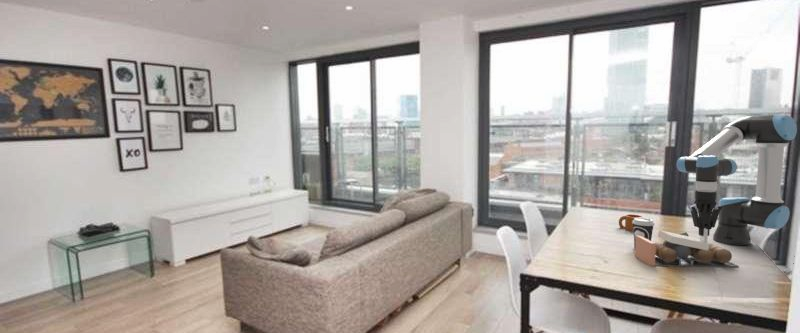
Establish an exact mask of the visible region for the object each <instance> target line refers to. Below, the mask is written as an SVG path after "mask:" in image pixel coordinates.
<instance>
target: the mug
mask: <svg viewBox="0 0 800 333" xmlns="http://www.w3.org/2000/svg"><path fill="white" fill-rule="evenodd" d="M634 218H644V217H643V215H640V214H635V213H634V214H632V213H631V214H630V213H629V214H625V215H622V216H621V217H620V218H619V219H618V225H619V226H618V227H620V229H623V230H624V229H625V230H627V231H629V232H634V230H633V223H632V221H633V220H634ZM623 221H625V222H624V225H623Z"/></svg>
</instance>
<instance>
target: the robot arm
mask: <svg viewBox="0 0 800 333" xmlns="http://www.w3.org/2000/svg"><path fill="white" fill-rule="evenodd" d="M797 133H798V128H797V123H796V120H794V118H793V117H792V116H791V115H787V114H771V115H769V114H768V115H766V114H765V115H764V114H763V115H748V116H743V117H741V118H738V119H736V120H734V121H732V122H730V123H728V124H727V125H726V126H724V127H723V128H722V129H721V130H720V133H718V134H717V135H716V136H715V137H713V138H712V139H710V140H709V141H708V142H707V143H705V144H704V145H703V146H702V147H700V148H698V149H697V150H696V151H695V152H694V153H692V154H691V155H689V156H681V157H679V158H678V159H677V161H676V168H677V170H678V171H679V172H681V173H686V174H695V191H694V199H695V201H694V204H692V205H689V206H688V209H689V211H690V213H691V214H690V215H691V218H692V222H693V226H694V227H696V228H698V236H699V240H701V241H704V242H706V243H708V237H710V230H712V228H715V227H716V228H715V230H714V233H713V234H712V240H714V241H715V242H718V243H722V244H726V245H733V246H734V245H735V246H749V245H751V243H752V238H751V235H750V233H749V230H748V226H755V227H759V228H765V229H769V230H770V229H772V230H780V229H782V228H783V227H784V226H785V225H786V224H787V222H789V218H790V214H791V212H790V208H789V207H788V206H786V205H784V204H785V201H784V200H783V199H782V198H781V189H782V188H781V187H782V176H783V163H784V153H785V147H786V146H788V145H789V144H790V141H791V140H794V139H795V137H796V136H797ZM744 140H745V141H747V140H755V144H756V145H757V146H758V147H759V148H758V159H757V160H758V161H757V173H756V185H755V195H754V196H753V197H752V198H751V199H750V198H749V197H745V196H735V197H734V196H733V197H732V196H731V197H729V196H728V197H723V198H721V199H720V200H719V204H717V198H718V197H717V196H718V194H717V190H718V177H724V176H725V177H726V176H731V175H734V174H735V173H736V172H737V170H738V164H737V162H736V161H735V160H733V159H731V158H719V157H718V156H720V155H721V154H723V153H724V152H726V151H727V149H729V148H730V147H732V146H733V145H734V144H739V143H741V142H742V141H744ZM717 221H718V222H717ZM716 224H717V226H716Z"/></svg>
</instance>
